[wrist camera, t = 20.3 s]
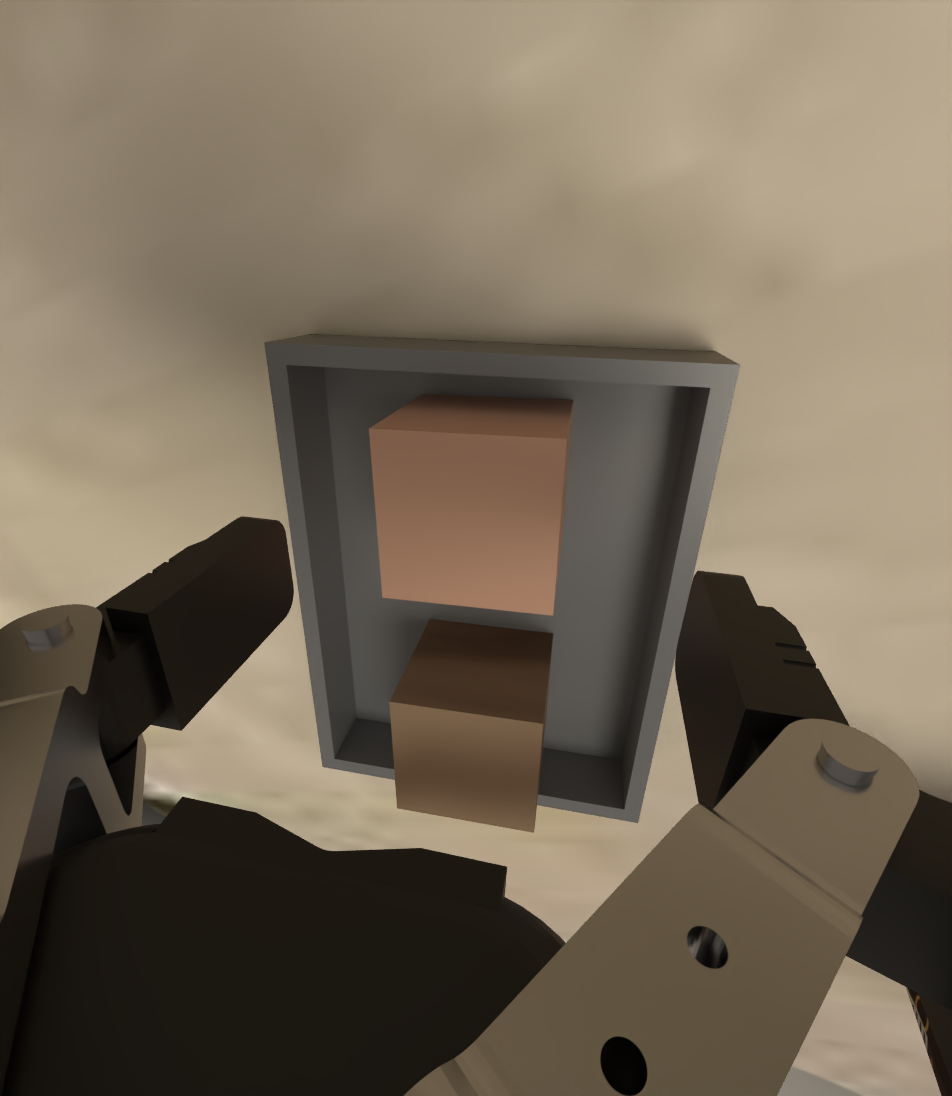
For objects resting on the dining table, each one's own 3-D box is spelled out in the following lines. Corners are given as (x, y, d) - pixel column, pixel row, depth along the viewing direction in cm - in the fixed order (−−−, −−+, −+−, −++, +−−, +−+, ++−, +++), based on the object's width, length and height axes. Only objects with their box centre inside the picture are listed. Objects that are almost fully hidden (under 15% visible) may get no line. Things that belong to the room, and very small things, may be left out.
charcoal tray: (310, 334, 19) (264, 342, 16) (716, 352, 17) (740, 365, 14) (349, 717, 26) (322, 766, 24) (633, 763, 24) (637, 823, 22)
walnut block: (429, 618, 22) (389, 701, 18) (553, 633, 22) (543, 723, 17) (432, 713, 25) (397, 808, 20) (544, 729, 24) (533, 832, 19)
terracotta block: (422, 393, 18) (368, 428, 14) (573, 399, 18) (566, 439, 13) (427, 530, 21) (382, 597, 16) (562, 541, 20) (553, 615, 15)
